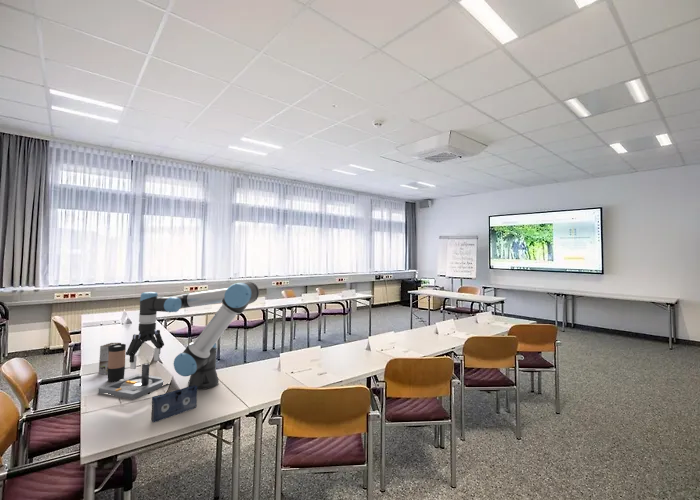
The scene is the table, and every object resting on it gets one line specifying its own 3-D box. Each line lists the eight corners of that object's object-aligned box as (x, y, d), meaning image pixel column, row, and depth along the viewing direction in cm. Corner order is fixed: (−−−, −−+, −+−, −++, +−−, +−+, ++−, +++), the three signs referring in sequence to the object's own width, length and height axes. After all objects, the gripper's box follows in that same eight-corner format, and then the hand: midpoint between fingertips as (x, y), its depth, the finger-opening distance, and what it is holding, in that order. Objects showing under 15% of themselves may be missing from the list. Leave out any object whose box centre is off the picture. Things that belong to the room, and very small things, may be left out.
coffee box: (109, 374, 190) (110, 346, 190) (98, 374, 190) (99, 346, 190) (120, 369, 199) (121, 342, 199) (110, 368, 199) (111, 342, 199)
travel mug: (104, 383, 176) (105, 346, 176) (119, 379, 182) (121, 343, 183) (111, 386, 172) (113, 348, 173) (127, 381, 179) (128, 344, 180)
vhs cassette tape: (194, 406, 151) (195, 384, 151) (197, 408, 149) (198, 386, 149) (150, 420, 137) (151, 396, 137) (153, 423, 135) (154, 398, 135)
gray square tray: (170, 385, 174) (171, 377, 175) (133, 402, 153) (133, 393, 153) (138, 380, 180) (138, 372, 181) (98, 396, 159) (98, 387, 159)
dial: (158, 384, 172) (159, 360, 172) (134, 394, 158) (135, 368, 159) (137, 380, 176) (138, 357, 176) (112, 390, 162) (113, 365, 163)
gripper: (161, 318, 180) (159, 357, 179) (118, 326, 156) (115, 371, 155) (172, 319, 178) (170, 358, 177) (130, 327, 154) (128, 373, 153)
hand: (145, 364), depth 166 cm, fingers open, 13 cm apart
